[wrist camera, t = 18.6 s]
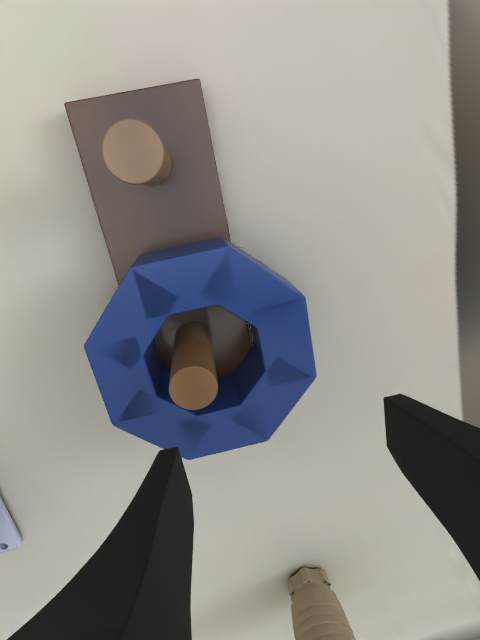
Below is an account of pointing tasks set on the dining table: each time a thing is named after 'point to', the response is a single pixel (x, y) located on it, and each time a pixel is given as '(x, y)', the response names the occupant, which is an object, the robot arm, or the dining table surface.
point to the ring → (233, 391)
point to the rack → (162, 214)
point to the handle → (316, 608)
